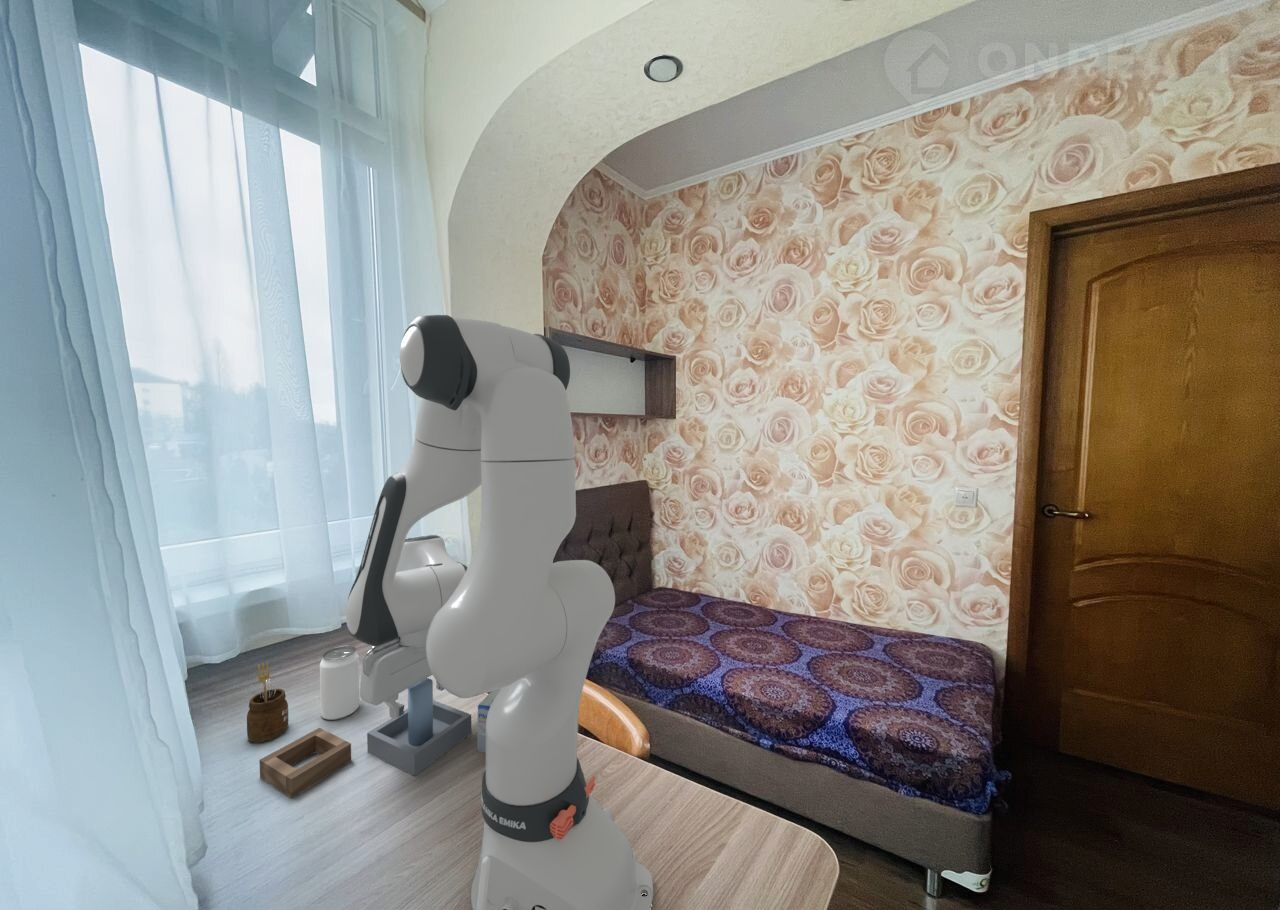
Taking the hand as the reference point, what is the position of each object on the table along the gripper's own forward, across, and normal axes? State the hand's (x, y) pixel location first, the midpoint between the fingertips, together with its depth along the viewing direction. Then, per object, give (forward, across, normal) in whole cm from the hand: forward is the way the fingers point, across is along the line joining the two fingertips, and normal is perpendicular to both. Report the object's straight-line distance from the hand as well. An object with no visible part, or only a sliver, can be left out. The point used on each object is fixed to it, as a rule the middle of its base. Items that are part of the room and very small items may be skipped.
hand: (420, 701), depth 82 cm
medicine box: (+8, +7, -12) cm, 16 cm away
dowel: (+7, 0, 0) cm, 7 cm away
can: (+8, -1, +22) cm, 23 cm away
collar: (+8, -13, +11) cm, 19 cm away
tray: (+8, 0, 0) cm, 8 cm away
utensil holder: (+8, -11, +27) cm, 30 cm away
